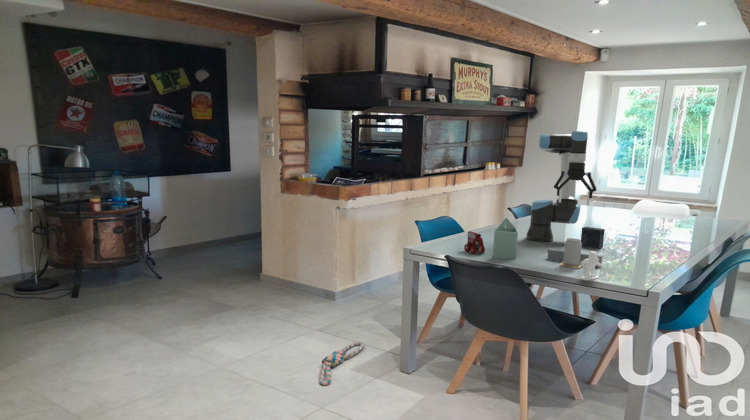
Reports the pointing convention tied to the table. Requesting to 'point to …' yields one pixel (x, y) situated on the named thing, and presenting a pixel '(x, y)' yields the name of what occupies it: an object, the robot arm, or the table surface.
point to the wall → (559, 256)
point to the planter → (505, 241)
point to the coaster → (571, 265)
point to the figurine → (590, 266)
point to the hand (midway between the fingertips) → (573, 203)
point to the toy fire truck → (474, 243)
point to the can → (572, 251)
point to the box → (592, 237)
